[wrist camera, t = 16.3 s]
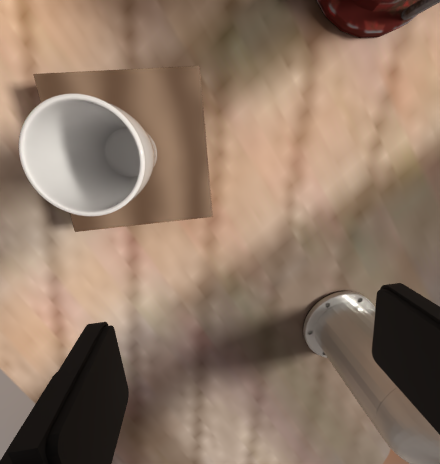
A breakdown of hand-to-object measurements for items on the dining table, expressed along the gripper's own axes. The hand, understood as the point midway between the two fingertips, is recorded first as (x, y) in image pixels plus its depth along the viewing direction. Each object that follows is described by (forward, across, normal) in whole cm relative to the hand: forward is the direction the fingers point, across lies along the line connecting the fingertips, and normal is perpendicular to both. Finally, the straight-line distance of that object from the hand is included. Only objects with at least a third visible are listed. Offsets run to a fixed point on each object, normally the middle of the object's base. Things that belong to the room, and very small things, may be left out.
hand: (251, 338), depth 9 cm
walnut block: (+27, +8, -7) cm, 29 cm away
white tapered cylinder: (+23, +8, -7) cm, 26 cm away
